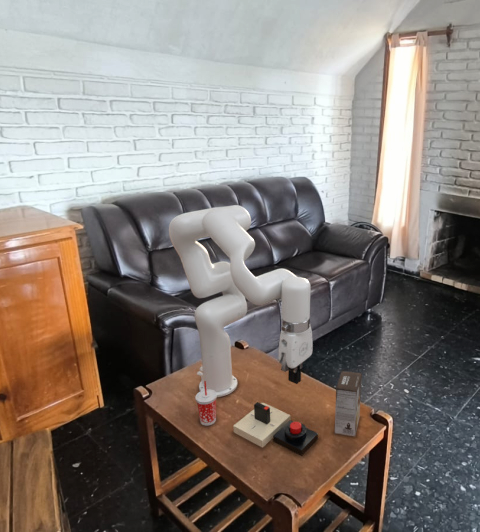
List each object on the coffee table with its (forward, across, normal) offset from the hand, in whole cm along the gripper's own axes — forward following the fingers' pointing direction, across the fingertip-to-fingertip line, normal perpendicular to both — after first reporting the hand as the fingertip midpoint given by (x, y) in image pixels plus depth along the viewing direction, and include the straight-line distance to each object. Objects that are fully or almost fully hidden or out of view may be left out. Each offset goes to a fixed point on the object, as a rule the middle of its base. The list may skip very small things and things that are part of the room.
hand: (294, 380), depth 123 cm
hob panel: (+18, -4, +9) cm, 20 cm away
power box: (+18, -3, -3) cm, 18 cm away
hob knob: (+15, -4, +9) cm, 18 cm away
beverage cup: (+18, -11, +24) cm, 32 cm away
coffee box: (+18, +11, -12) cm, 24 cm away
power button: (+14, -3, -3) cm, 15 cm away
